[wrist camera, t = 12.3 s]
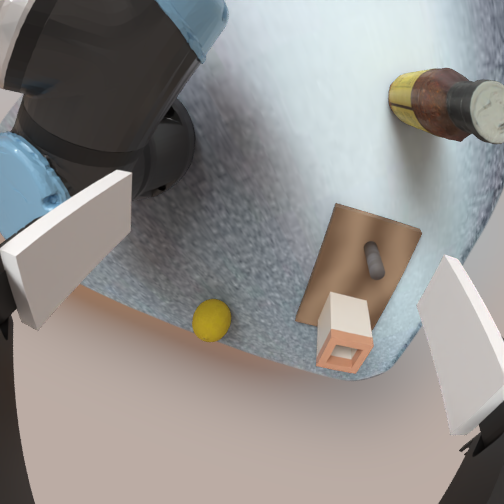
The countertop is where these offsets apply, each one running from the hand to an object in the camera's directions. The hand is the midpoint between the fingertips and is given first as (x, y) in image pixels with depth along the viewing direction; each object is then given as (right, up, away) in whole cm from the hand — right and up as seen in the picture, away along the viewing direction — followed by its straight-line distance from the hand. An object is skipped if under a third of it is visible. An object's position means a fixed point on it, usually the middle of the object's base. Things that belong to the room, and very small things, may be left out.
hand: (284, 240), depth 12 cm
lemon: (-6, -8, +38) cm, 39 cm away
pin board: (+13, -4, +31) cm, 34 cm away
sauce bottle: (+17, +17, +18) cm, 30 cm away
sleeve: (+12, -9, +33) cm, 36 cm away
